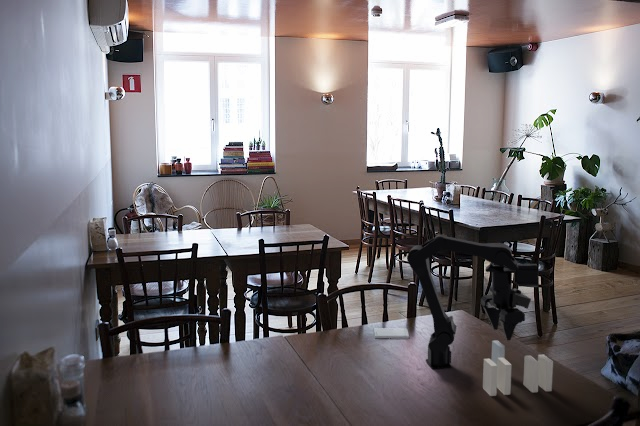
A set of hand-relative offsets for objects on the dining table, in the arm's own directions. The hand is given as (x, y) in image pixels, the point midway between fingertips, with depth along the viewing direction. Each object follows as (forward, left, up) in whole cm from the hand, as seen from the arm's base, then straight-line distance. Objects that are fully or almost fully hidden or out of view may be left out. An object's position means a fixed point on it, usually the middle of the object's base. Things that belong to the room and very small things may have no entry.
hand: (501, 334), depth 171 cm
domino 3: (-5, -12, -12) cm, 18 cm away
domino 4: (+3, -12, -12) cm, 17 cm away
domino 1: (-9, -12, -12) cm, 19 cm away
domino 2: (-1, +1, -12) cm, 12 cm away
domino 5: (+8, -12, -12) cm, 19 cm away
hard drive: (-25, +36, -13) cm, 46 cm away
